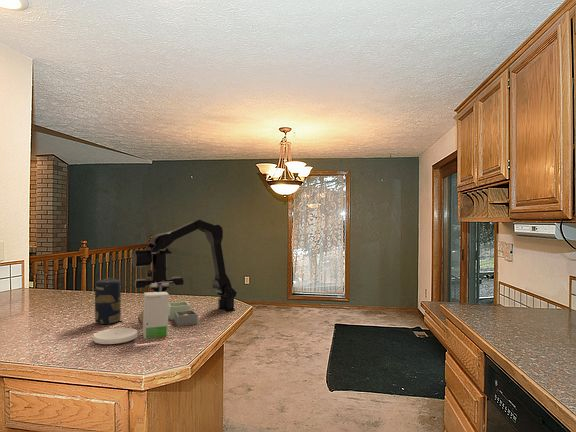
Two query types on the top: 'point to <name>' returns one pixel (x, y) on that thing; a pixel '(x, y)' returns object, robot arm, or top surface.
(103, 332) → the plastic lid
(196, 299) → the top surface
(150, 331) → the skincare box
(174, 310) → the pale green hollow box
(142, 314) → the lid
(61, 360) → the top surface
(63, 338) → the top surface
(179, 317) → the grey open box
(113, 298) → the canister
